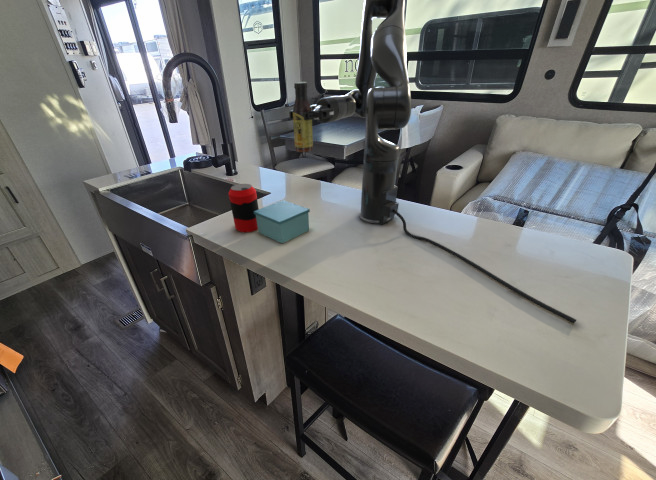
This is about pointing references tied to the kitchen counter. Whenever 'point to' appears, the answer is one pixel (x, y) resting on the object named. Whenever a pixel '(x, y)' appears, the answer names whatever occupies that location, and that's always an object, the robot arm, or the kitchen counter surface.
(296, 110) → the sauce bottle
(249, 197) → the soda can
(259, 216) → the storage box
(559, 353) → the kitchen counter surface
